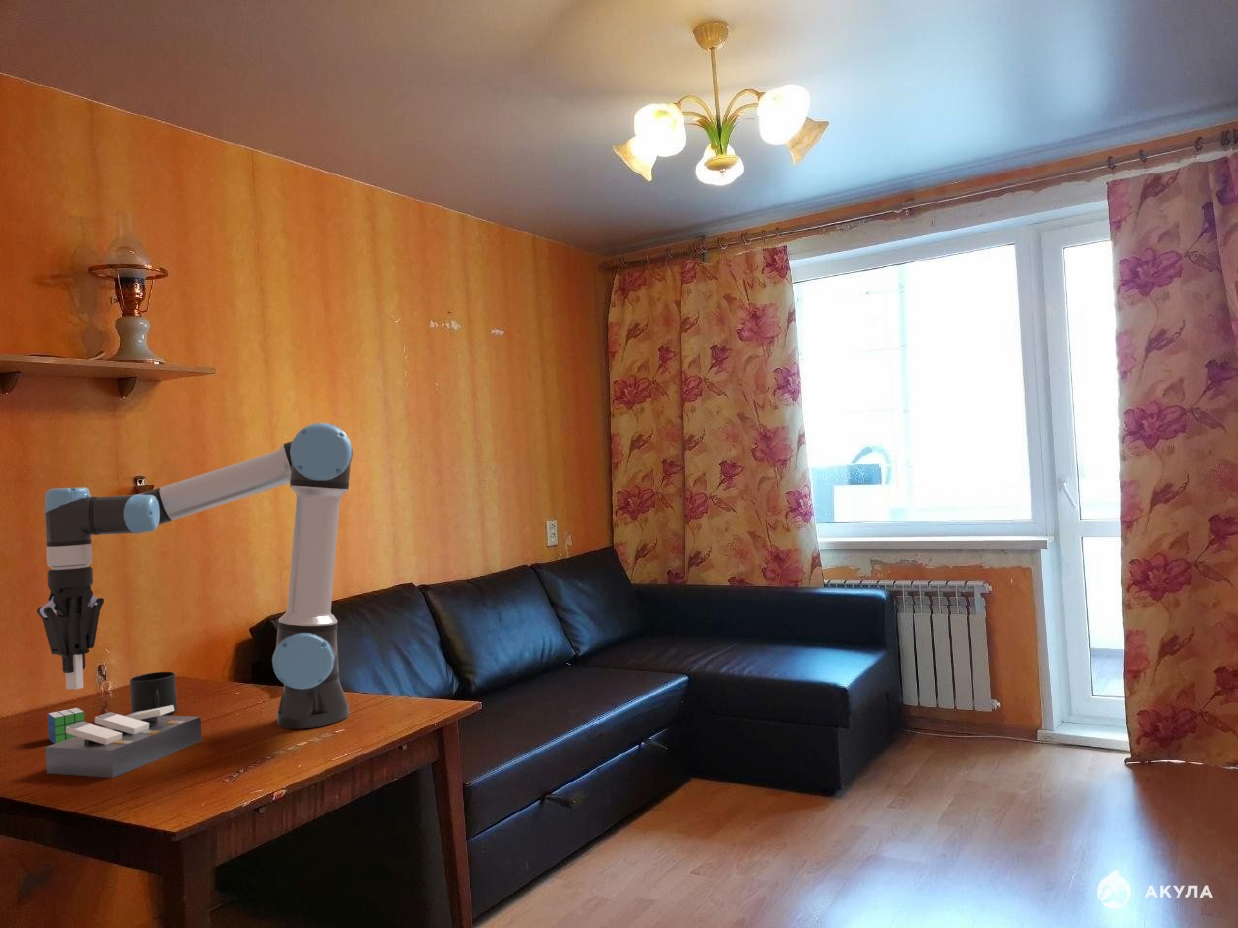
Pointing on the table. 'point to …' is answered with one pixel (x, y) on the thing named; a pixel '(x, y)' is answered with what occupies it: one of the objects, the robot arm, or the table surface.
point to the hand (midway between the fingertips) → (74, 688)
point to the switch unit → (123, 748)
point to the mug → (153, 691)
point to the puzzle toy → (63, 723)
